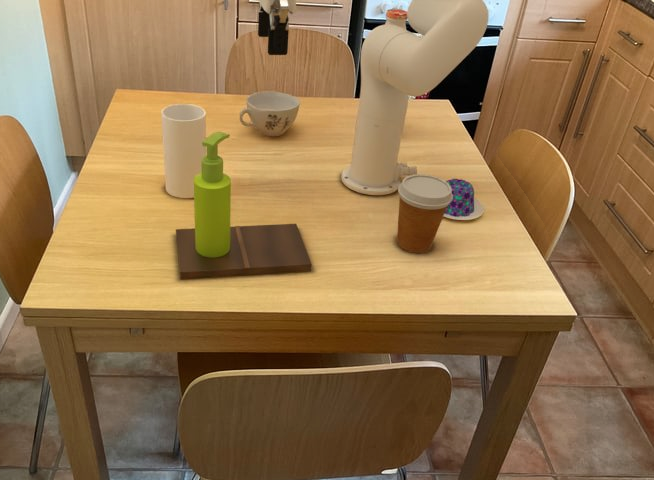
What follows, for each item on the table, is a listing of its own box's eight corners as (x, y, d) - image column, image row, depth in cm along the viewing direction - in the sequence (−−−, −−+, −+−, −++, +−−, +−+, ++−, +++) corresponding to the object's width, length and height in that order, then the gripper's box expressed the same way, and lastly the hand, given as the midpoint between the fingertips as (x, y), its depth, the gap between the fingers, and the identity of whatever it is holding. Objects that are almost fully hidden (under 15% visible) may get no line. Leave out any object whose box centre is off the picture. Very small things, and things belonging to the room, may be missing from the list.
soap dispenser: (238, 241, 110) (241, 134, 98) (219, 261, 105) (219, 150, 93) (209, 232, 112) (208, 125, 99) (188, 251, 106) (185, 141, 94)
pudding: (423, 218, 123) (429, 194, 120) (423, 189, 133) (428, 167, 130) (485, 227, 122) (492, 203, 119) (481, 197, 132) (487, 175, 129)
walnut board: (295, 230, 117) (296, 223, 116) (311, 271, 107) (311, 263, 106) (176, 236, 113) (175, 228, 112) (180, 279, 103) (180, 271, 102)
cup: (199, 201, 123) (197, 123, 113) (159, 194, 124) (154, 117, 114) (211, 182, 129) (211, 107, 120) (173, 176, 130) (170, 101, 121)
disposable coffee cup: (428, 264, 111) (442, 205, 103) (379, 246, 114) (390, 187, 107) (447, 241, 117) (462, 183, 110) (400, 224, 121) (412, 167, 114)
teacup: (282, 118, 158) (284, 87, 153) (307, 138, 150) (310, 105, 145) (227, 127, 152) (228, 94, 147) (250, 148, 143) (251, 114, 138)
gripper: (313, -59, 90) (304, 62, 101) (289, -78, 103) (283, 30, 114) (262, -60, 89) (258, 62, 99) (244, -80, 102) (242, 30, 112)
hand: (272, 45), depth 106 cm, fingers open, 9 cm apart
